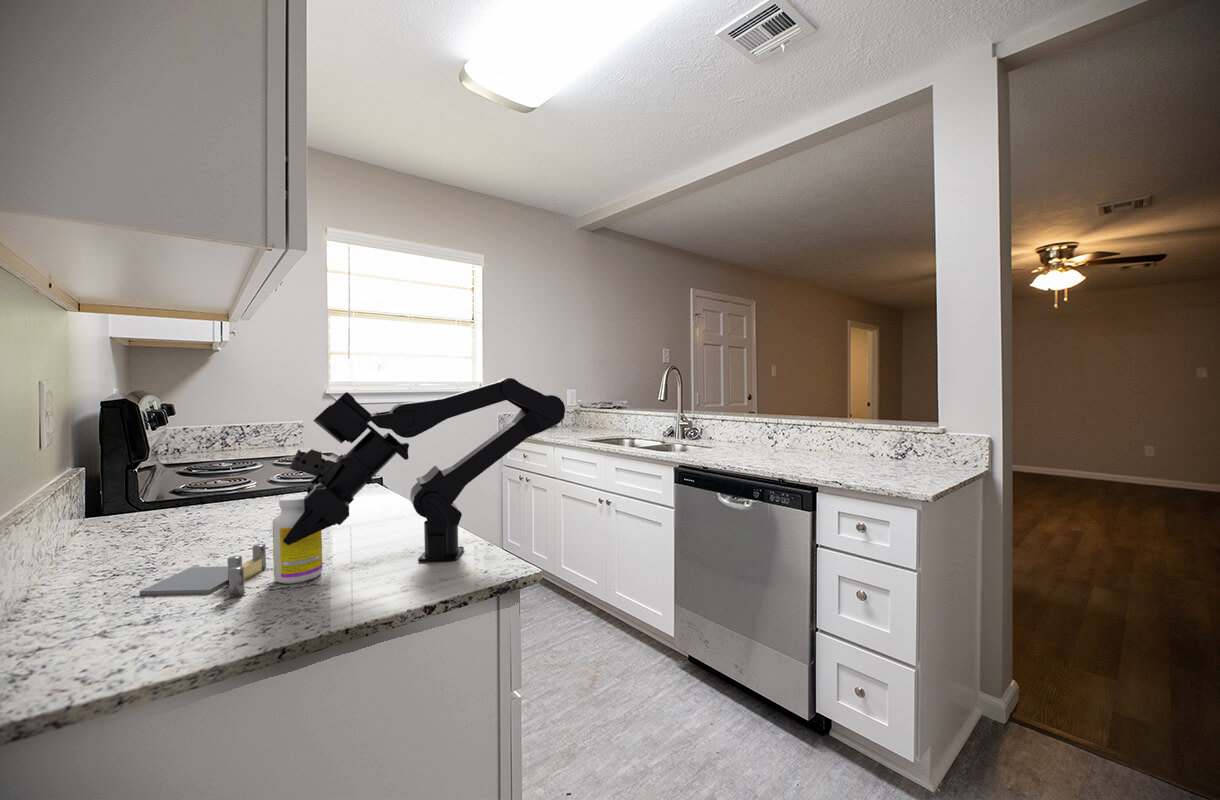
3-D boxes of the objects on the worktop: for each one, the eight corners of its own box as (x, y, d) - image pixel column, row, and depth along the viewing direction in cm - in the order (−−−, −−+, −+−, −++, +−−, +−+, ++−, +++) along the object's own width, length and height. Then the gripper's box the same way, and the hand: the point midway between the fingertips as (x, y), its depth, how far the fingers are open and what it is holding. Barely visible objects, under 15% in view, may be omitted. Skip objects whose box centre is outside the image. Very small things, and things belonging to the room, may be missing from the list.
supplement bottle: (331, 574, 84) (329, 495, 84) (287, 588, 79) (285, 503, 78) (308, 567, 88) (306, 491, 87) (265, 579, 82) (263, 498, 82)
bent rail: (257, 567, 88) (256, 543, 88) (289, 566, 88) (289, 543, 88) (201, 598, 75) (200, 571, 75) (239, 597, 75) (238, 570, 75)
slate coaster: (191, 570, 86) (191, 567, 86) (253, 569, 87) (253, 565, 87) (139, 595, 76) (139, 591, 76) (210, 593, 77) (210, 589, 77)
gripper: (324, 425, 93) (251, 494, 88) (322, 434, 76) (231, 519, 71) (374, 466, 96) (306, 534, 92) (381, 483, 80) (299, 566, 75)
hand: (287, 537), depth 82 cm, fingers closed on supplement bottle, 7 cm apart
